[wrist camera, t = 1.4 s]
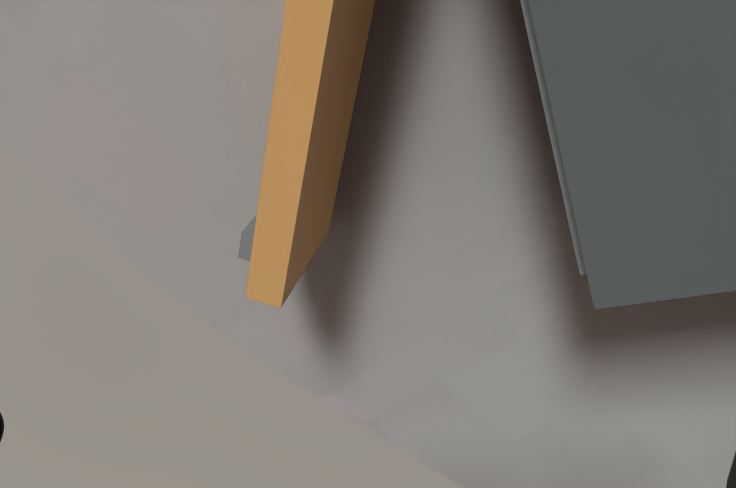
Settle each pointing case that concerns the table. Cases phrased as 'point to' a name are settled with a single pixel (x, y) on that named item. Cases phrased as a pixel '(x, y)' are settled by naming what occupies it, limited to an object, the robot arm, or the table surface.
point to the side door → (305, 140)
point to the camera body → (643, 140)
